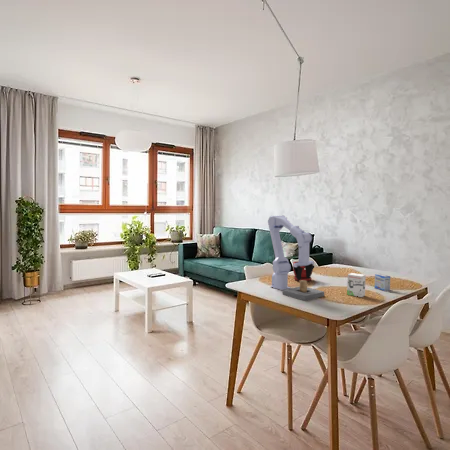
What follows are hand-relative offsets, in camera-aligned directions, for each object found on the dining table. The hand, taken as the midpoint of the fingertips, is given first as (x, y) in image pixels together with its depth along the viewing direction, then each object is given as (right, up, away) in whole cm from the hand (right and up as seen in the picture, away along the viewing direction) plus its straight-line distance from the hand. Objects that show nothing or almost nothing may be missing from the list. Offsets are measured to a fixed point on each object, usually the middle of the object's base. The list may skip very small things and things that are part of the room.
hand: (303, 278), depth 192 cm
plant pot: (+9, -7, +40) cm, 41 cm away
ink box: (+29, -10, +1) cm, 31 cm away
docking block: (0, -9, +1) cm, 9 cm away
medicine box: (+50, -9, +15) cm, 53 cm away
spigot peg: (0, -9, +1) cm, 9 cm away
